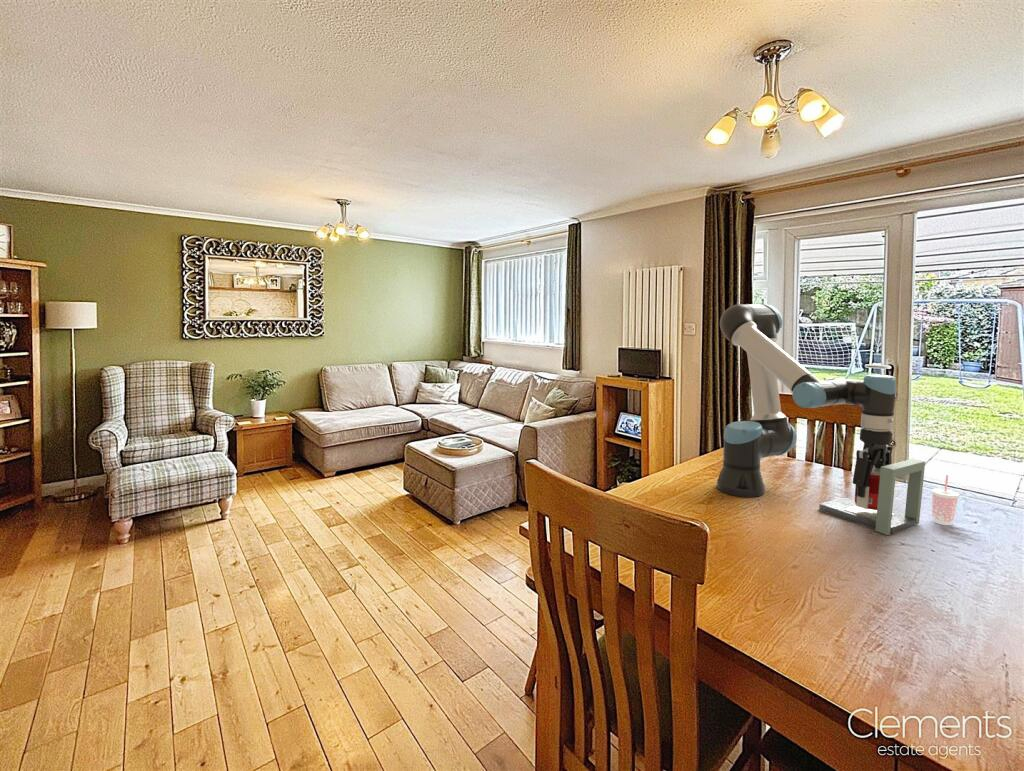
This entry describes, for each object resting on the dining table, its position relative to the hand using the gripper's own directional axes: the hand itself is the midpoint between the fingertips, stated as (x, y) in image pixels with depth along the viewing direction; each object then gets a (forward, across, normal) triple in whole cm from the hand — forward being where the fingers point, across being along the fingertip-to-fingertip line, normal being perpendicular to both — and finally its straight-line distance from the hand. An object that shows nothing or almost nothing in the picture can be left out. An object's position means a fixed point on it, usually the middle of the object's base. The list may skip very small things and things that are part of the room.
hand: (870, 504), depth 146 cm
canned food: (0, 0, 0) cm, 1 cm away
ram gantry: (+4, 0, -7) cm, 8 cm away
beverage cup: (+5, +16, -11) cm, 20 cm away
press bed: (+4, 0, +1) cm, 5 cm away
